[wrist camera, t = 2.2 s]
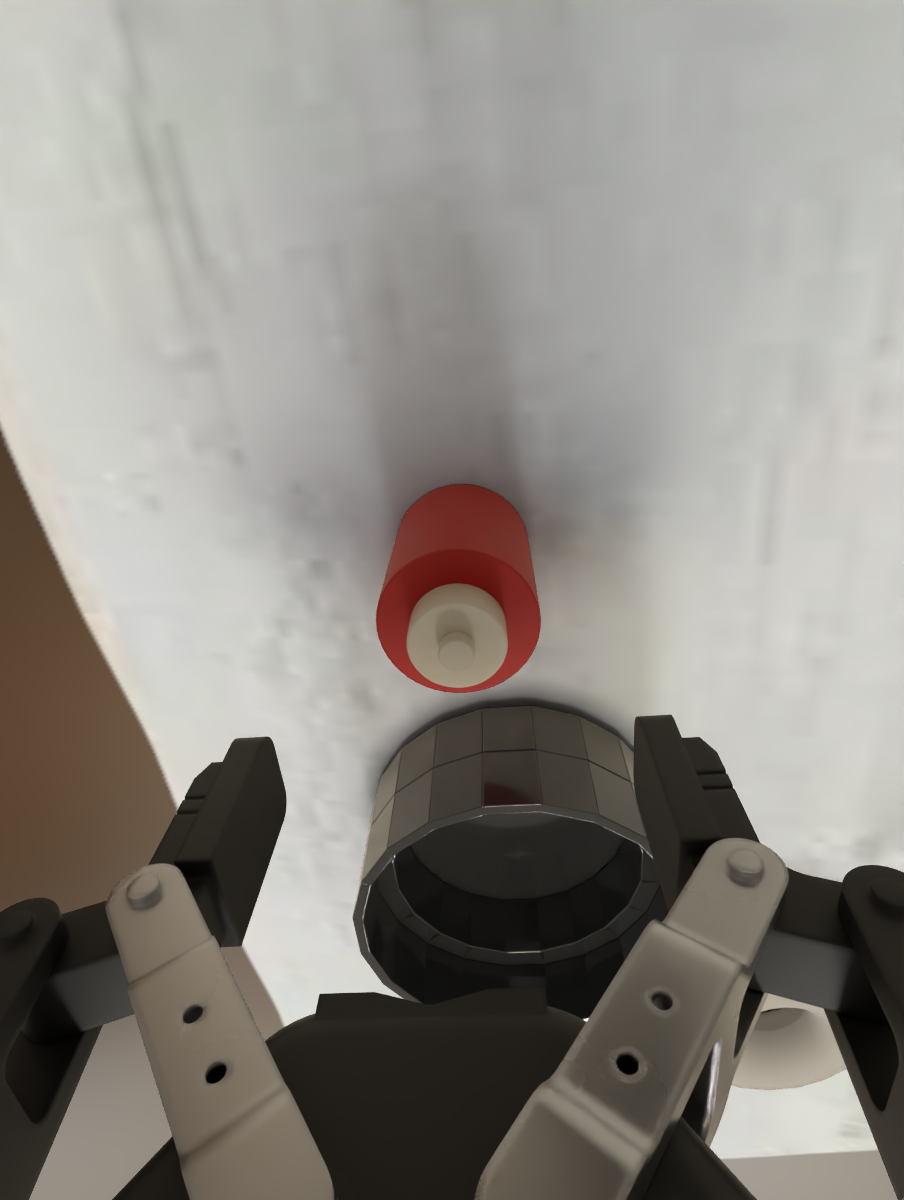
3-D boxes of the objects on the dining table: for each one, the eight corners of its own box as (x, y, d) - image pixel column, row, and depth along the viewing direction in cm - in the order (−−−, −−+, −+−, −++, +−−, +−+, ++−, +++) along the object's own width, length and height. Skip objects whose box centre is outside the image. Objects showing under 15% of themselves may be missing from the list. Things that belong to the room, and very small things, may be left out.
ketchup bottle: (388, 489, 25) (354, 582, 18) (525, 478, 24) (543, 569, 18) (404, 609, 27) (380, 732, 20) (531, 601, 26) (548, 723, 20)
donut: (761, 1055, 39) (904, 963, 35) (784, 1126, 36) (944, 1033, 32) (618, 990, 37) (752, 883, 33) (630, 1059, 34) (779, 950, 30)
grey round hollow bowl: (355, 707, 29) (327, 813, 24) (660, 690, 28) (703, 796, 23) (394, 913, 35) (379, 1036, 29) (650, 904, 34) (682, 1029, 28)
